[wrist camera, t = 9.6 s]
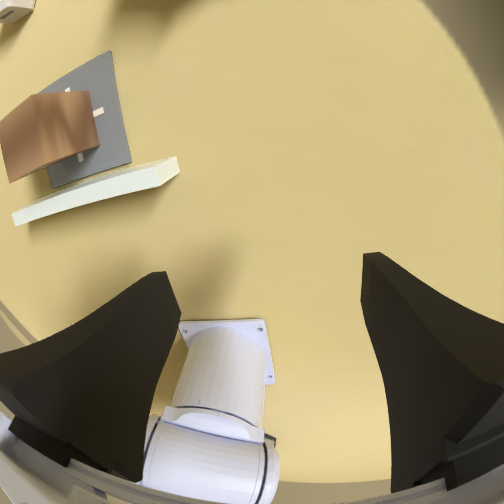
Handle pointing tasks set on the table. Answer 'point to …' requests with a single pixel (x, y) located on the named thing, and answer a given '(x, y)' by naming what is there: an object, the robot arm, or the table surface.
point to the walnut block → (46, 131)
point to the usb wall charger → (15, 9)
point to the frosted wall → (100, 189)
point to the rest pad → (106, 120)
